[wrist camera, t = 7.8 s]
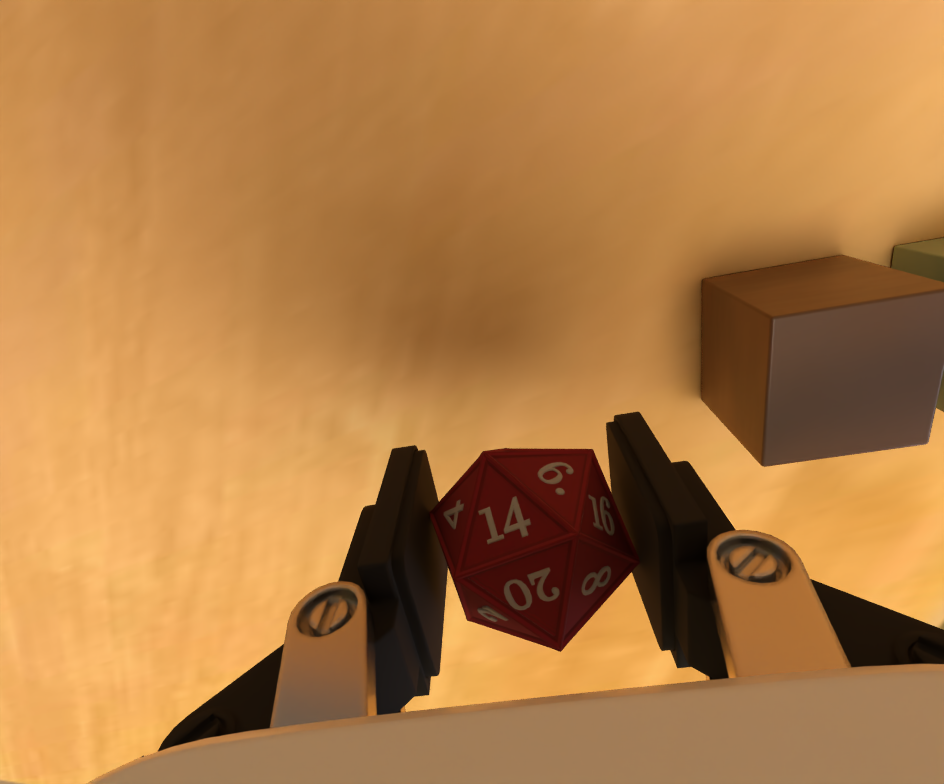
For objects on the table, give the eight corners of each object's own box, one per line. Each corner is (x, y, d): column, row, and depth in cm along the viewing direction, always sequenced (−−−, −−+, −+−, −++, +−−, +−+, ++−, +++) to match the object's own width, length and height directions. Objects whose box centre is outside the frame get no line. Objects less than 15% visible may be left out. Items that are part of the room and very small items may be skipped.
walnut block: (700, 278, 17) (771, 317, 13) (844, 253, 17) (964, 286, 12) (700, 400, 19) (762, 468, 15) (829, 380, 18) (929, 445, 14)
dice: (561, 372, 11) (599, 474, 8) (626, 521, 13) (684, 665, 9) (409, 436, 12) (378, 558, 8) (489, 570, 14) (493, 721, 10)
